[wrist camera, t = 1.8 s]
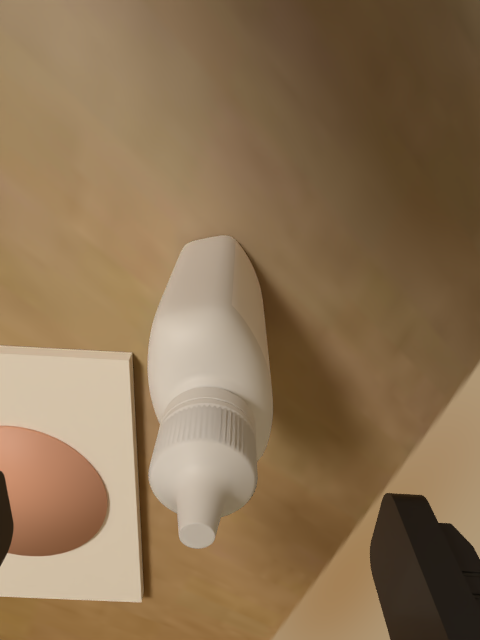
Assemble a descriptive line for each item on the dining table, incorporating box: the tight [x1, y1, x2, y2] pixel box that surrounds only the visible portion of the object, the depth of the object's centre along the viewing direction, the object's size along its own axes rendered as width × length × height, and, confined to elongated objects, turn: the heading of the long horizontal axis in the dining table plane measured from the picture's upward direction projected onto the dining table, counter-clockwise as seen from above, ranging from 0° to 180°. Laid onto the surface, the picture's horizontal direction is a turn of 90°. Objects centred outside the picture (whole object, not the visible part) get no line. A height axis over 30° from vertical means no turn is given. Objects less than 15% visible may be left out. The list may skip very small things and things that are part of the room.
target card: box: [0, 346, 144, 602], centre depth 24 cm, size 17×12×1 cm
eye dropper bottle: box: [148, 235, 273, 549], centre depth 14 cm, size 4×6×12 cm
